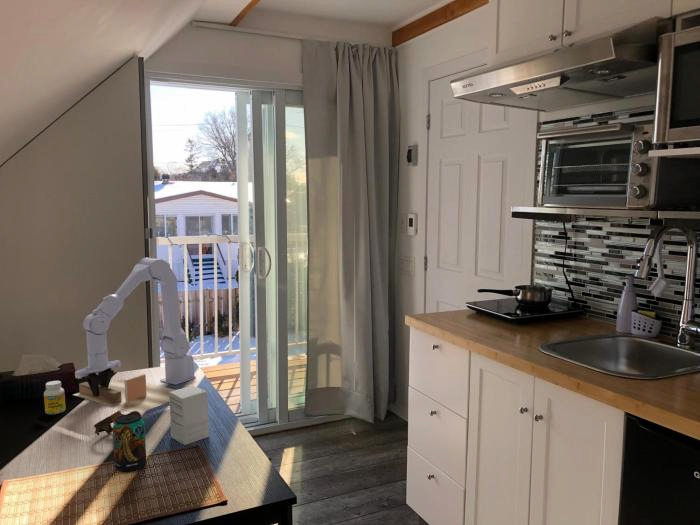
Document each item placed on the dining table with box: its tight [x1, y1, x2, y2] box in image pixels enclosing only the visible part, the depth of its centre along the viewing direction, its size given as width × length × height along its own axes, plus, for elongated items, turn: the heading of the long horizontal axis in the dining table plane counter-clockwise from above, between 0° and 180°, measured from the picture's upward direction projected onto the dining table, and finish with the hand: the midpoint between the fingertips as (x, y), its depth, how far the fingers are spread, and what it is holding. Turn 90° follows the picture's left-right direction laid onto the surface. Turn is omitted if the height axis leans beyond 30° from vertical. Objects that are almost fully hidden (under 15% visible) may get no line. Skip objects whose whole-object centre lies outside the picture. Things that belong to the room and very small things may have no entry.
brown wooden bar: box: [78, 381, 122, 404], centre depth 180 cm, size 2×18×3 cm, turn 58°
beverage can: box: [112, 413, 148, 474], centre depth 134 cm, size 7×7×12 cm
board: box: [72, 377, 176, 416], centre depth 183 cm, size 20×32×1 cm, turn 58°
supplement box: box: [169, 385, 210, 446], centre depth 151 cm, size 7×7×13 cm
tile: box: [124, 373, 147, 402], centre depth 178 cm, size 7×1×7 cm, turn 148°
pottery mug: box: [93, 410, 143, 436], centre depth 152 cm, size 12×10×8 cm
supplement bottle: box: [43, 380, 66, 415], centre depth 168 cm, size 5×5×10 cm
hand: (100, 394), depth 180 cm, fingers closed on brown wooden bar, 2 cm apart
